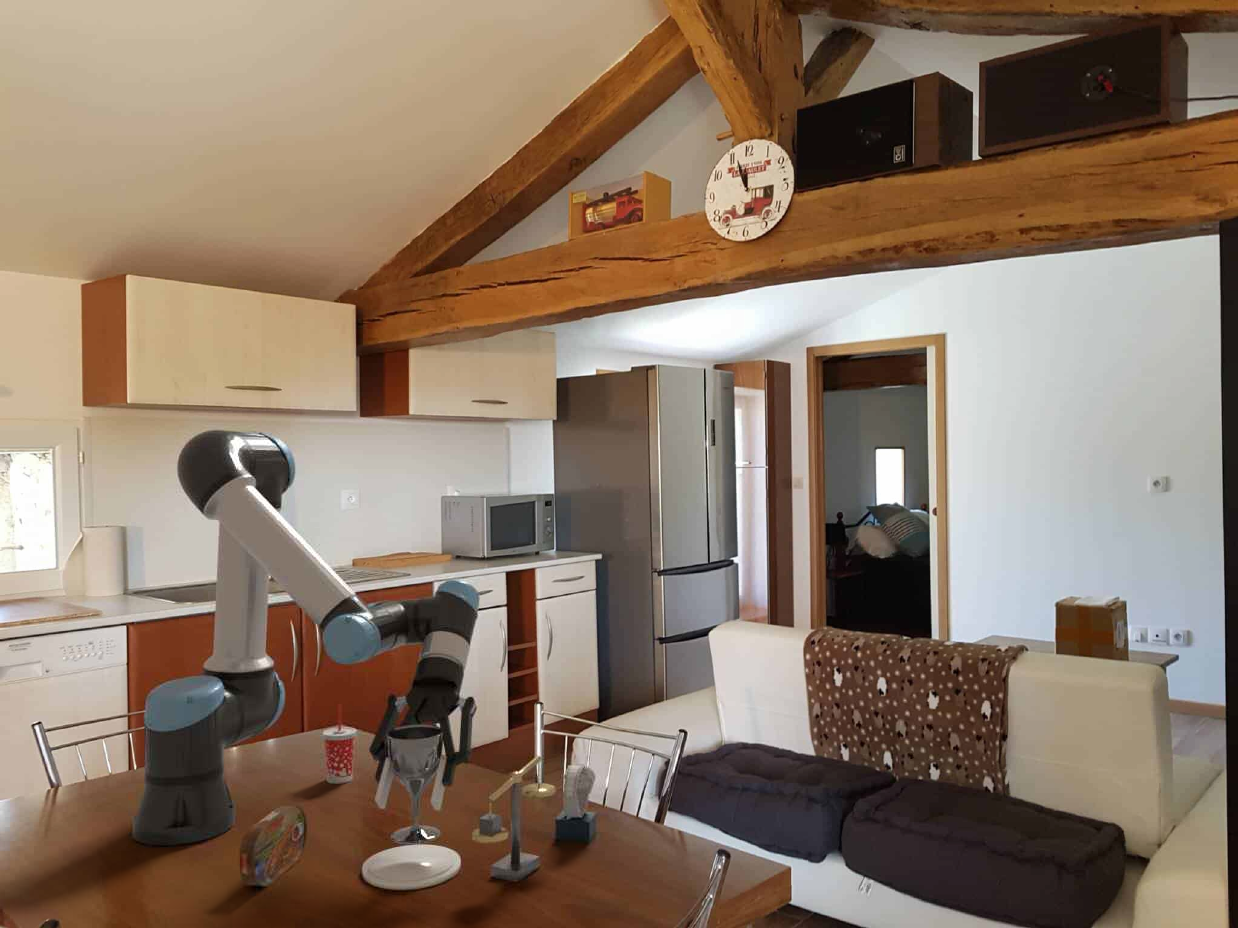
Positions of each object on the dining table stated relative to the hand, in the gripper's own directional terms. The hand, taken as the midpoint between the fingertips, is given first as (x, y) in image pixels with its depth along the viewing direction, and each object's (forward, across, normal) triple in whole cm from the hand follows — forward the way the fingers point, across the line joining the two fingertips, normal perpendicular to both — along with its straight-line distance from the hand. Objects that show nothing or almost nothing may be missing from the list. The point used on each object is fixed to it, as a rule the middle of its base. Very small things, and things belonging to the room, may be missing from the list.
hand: (407, 804), depth 137 cm
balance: (+4, -15, -10) cm, 19 cm away
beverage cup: (-21, +27, -36) cm, 50 cm away
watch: (-6, -21, -21) cm, 30 cm away
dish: (+5, +1, -10) cm, 11 cm away
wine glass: (+2, 0, -7) cm, 7 cm away
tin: (+8, +20, -8) cm, 23 cm away
